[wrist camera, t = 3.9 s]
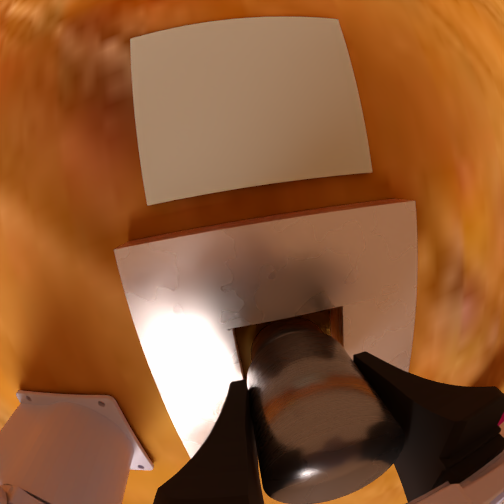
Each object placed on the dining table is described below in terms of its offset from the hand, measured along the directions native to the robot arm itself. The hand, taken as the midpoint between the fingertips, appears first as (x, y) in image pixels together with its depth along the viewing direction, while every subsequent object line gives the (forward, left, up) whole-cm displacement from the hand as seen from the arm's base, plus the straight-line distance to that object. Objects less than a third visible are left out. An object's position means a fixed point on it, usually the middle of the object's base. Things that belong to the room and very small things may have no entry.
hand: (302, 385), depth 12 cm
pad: (0, +13, -4) cm, 14 cm away
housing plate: (0, 0, -4) cm, 4 cm away
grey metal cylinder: (0, 0, -3) cm, 3 cm away
